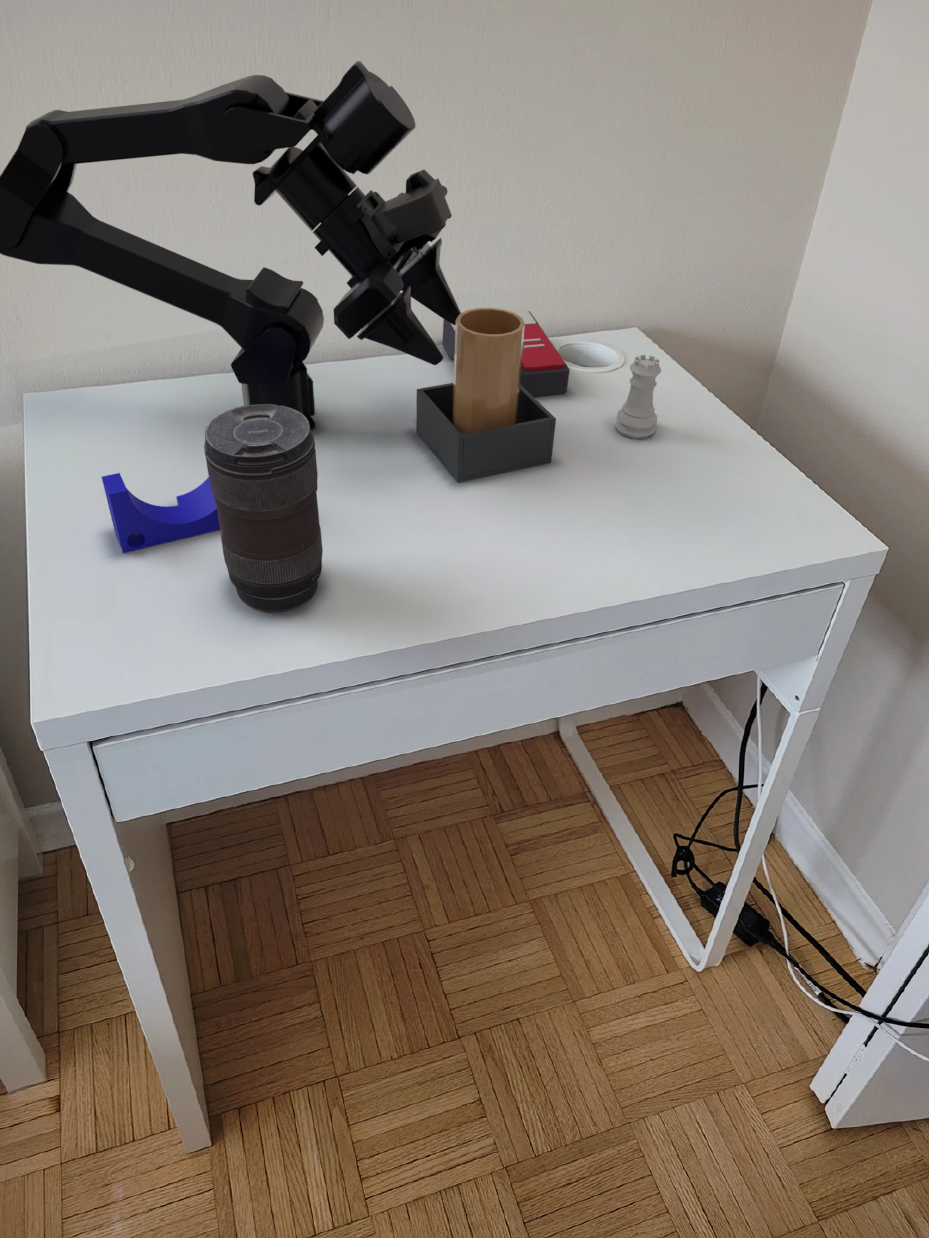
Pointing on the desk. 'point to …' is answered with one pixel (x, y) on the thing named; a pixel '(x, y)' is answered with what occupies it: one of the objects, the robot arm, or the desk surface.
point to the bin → (484, 436)
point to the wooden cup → (487, 369)
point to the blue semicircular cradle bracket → (158, 515)
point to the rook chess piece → (640, 400)
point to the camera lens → (266, 503)
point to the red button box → (529, 358)
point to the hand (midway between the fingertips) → (450, 341)
